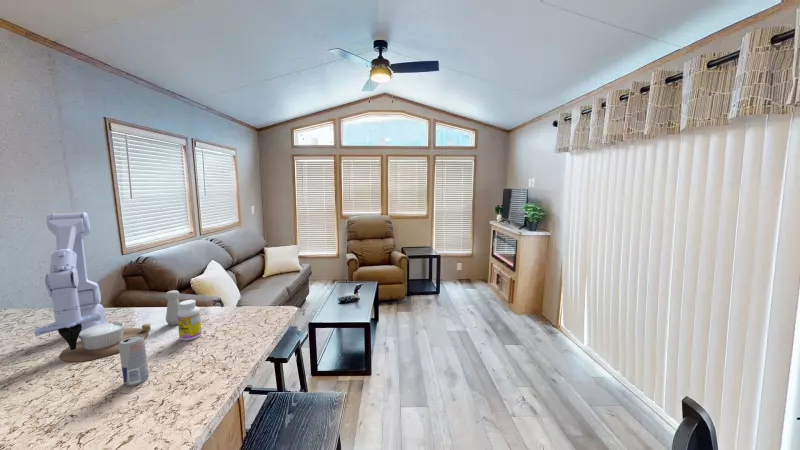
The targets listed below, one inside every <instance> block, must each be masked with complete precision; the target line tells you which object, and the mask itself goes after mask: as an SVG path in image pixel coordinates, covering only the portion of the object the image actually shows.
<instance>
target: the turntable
mask: <svg viewBox="0 0 800 450" xmlns="http://www.w3.org/2000/svg"><path fill="white" fill-rule="evenodd" d="M150 331H151V324H150V323H144V324H142V325H141V327H130V328H124V330H123V338H122V339H124V338H127V337H130V336H135V335H142V336H143V338H144V340H147V338H148V336H149V332H150ZM122 339H121V340H122ZM117 354H120V351H119V342H118V343H117V344H115V345H112V346H110V347H106V348H103V349H98V350H88V349H86V348H84V346H83V344H82V342H81V340H77V343H76V349H74V350H70V346H69V345H68V346H67V347H66V348H65V349H63V350H62V351H61V352H60V354H59V357H60V360H62V361H64V362H71V363H73V362H75V363H77V362H79V363H80V362H87V361H94V360H99V359H102V358H107V357H111V356H113V355H117Z"/></svg>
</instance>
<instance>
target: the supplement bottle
mask: <svg viewBox="0 0 800 450" xmlns="http://www.w3.org/2000/svg"><path fill="white" fill-rule="evenodd" d="M179 302H180V304H179V305H180V308H181V309H180V310H179V311H178V312H177V319H178V325H177V326H178V336H179V339H180V340H181V341H185V342H186V341H192V340H195V339H197V338H199V337H201V336H202V333H203V332H202V321H201V311H200V308H199V307H198V306H197V305H196V300H195V299H186V300H183V301H179Z"/></svg>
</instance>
